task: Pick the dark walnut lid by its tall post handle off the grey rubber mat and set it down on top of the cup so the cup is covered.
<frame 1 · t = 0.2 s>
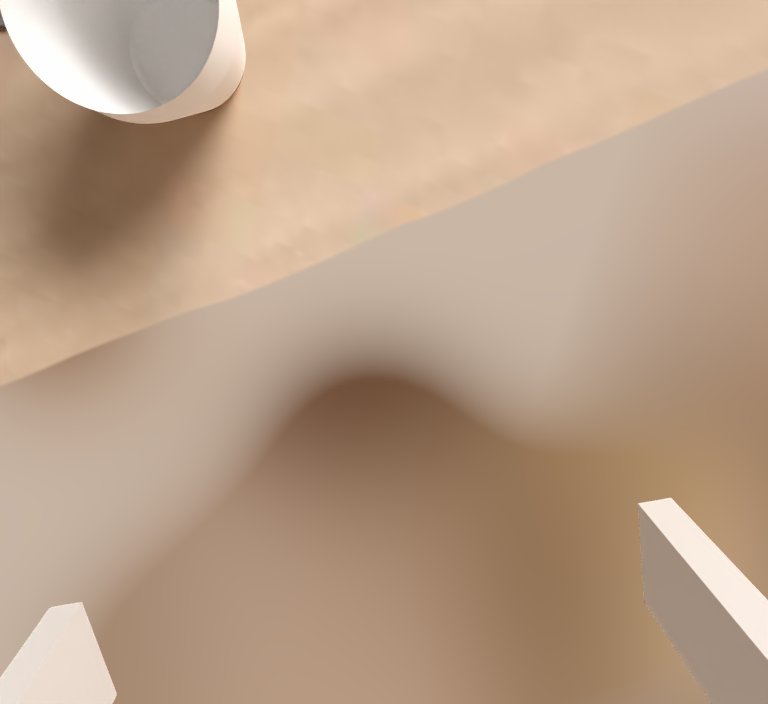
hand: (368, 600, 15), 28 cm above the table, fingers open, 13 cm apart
cup: (189, 53, 36), on the table
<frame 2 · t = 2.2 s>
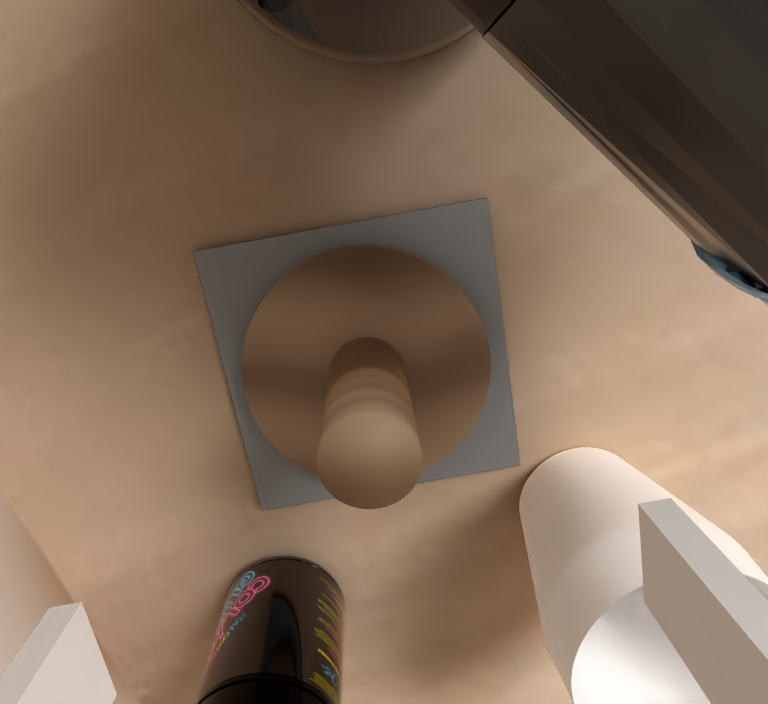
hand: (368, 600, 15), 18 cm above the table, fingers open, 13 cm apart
supplement container: (287, 597, 36), on the table
cup: (576, 498, 34), on the table
lid: (366, 365, 31), resting on mat
mat: (366, 362, 31), on the table
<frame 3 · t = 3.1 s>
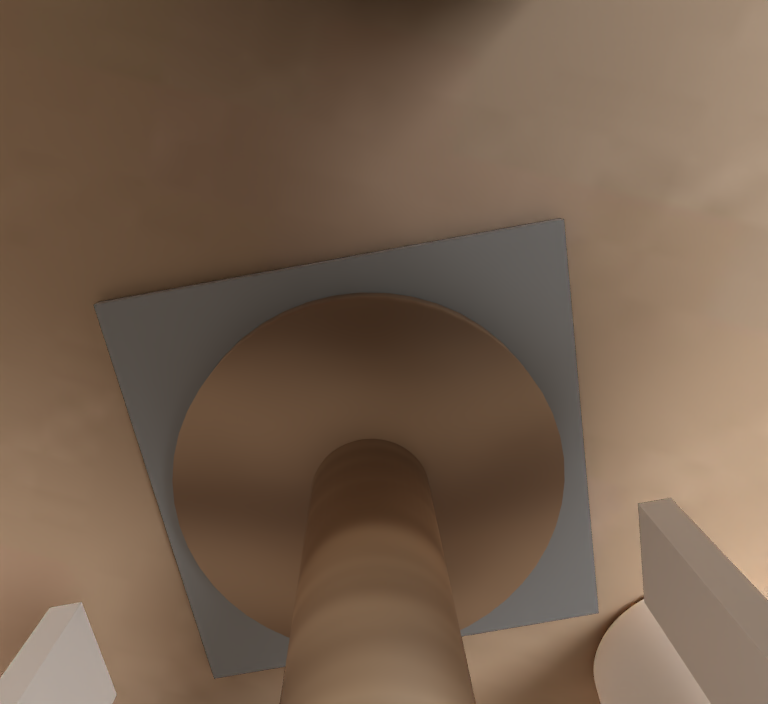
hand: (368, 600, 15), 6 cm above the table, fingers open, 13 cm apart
cup: (676, 652, 24), on the table
lid: (370, 473, 20), resting on mat
mat: (370, 467, 21), on the table
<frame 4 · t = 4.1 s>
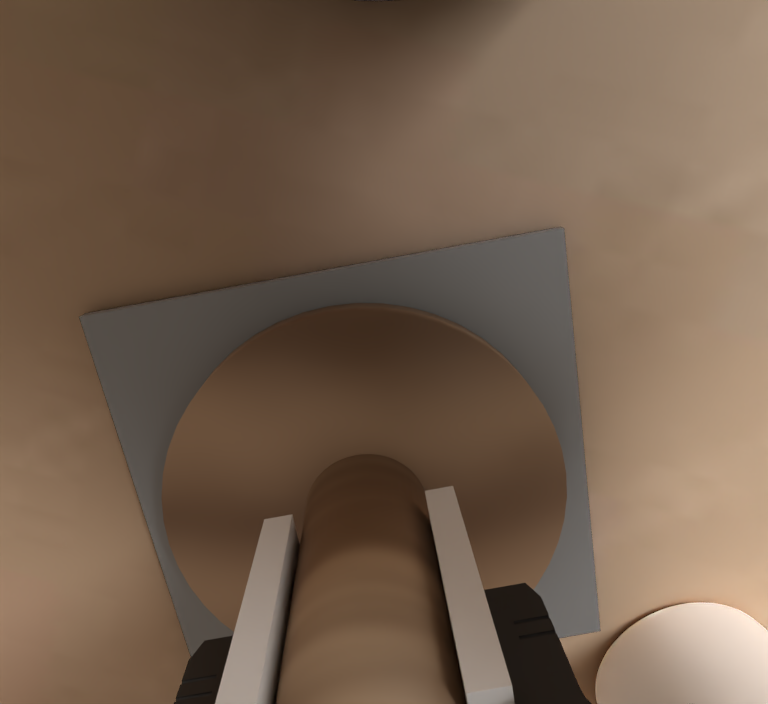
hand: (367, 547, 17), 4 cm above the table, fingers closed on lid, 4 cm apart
cup: (680, 670, 23), on the table
lid: (366, 489, 20), resting on mat, touching gripper
mat: (365, 483, 20), on the table
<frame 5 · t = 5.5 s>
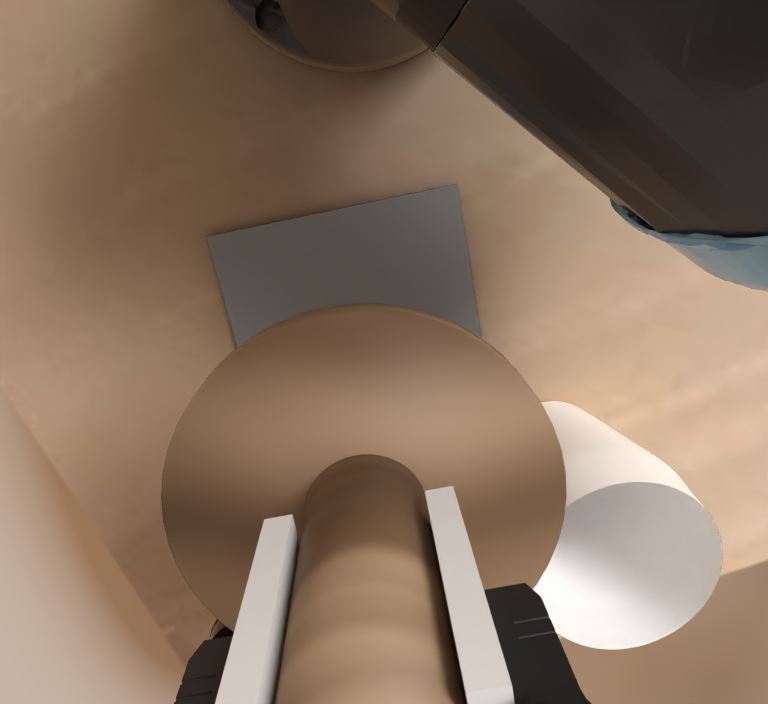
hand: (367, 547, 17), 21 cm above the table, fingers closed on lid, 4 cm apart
cup: (546, 448, 39), on the table
lid: (366, 489, 20), point 17 cm above the table, touching gripper
mat: (357, 330, 36), on the table
when the fingers open (16 cm above the table, at t = 7.2 s): lid stays where it is, resting on cup.
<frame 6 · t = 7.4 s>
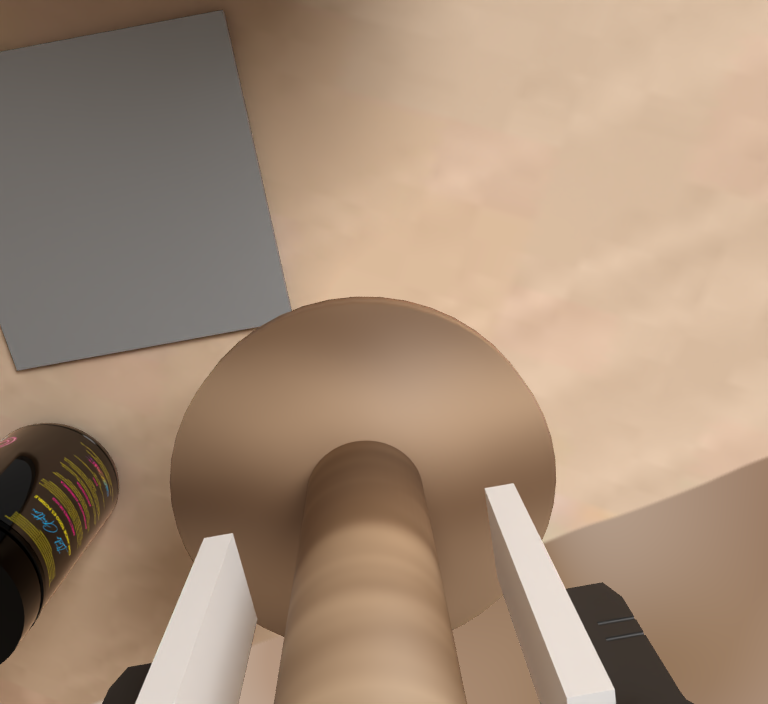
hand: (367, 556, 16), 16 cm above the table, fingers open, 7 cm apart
supplement container: (61, 473, 33), on the table
lid: (365, 475, 20), point 12 cm above the table, touching cup
mat: (115, 202, 29), on the table
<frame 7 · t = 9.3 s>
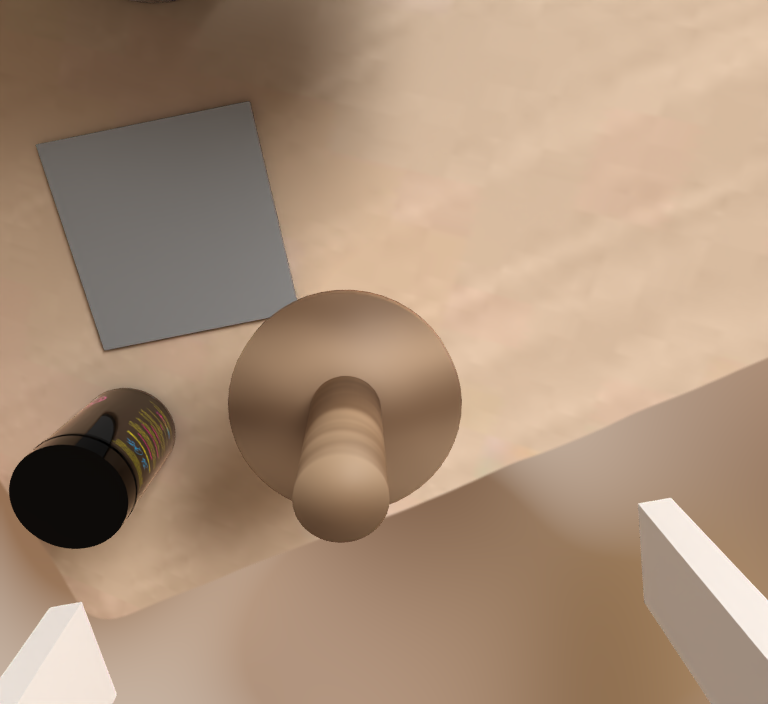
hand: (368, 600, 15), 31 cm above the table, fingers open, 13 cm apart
supplement container: (133, 426, 46), on the table
lid: (346, 400, 33), point 12 cm above the table, touching cup
mat: (174, 231, 42), on the table
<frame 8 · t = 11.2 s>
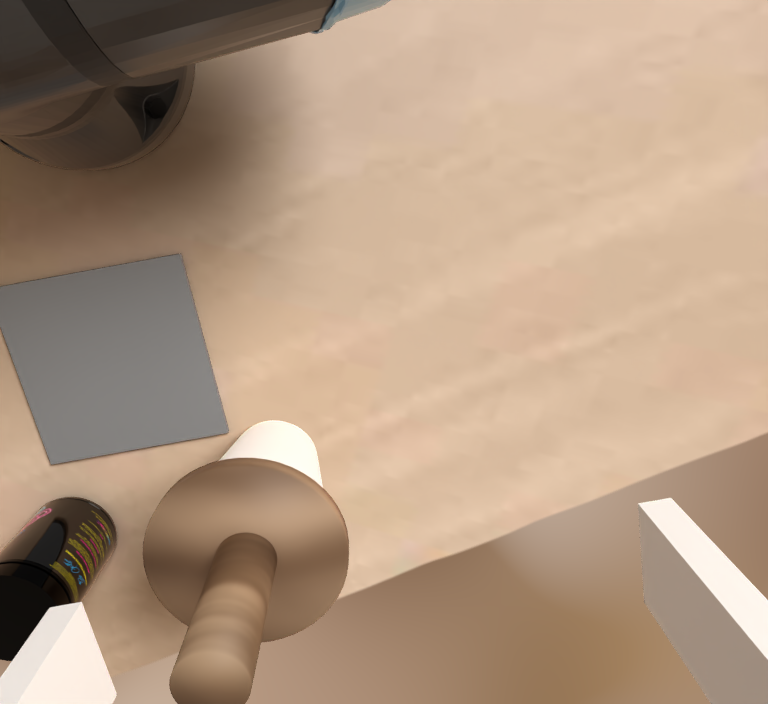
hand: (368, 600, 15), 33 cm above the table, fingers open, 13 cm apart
supplement container: (79, 528, 50), on the table
cup: (276, 457, 49), on the table, touching lid
lid: (250, 547, 38), point 12 cm above the table, touching cup
mat: (114, 362, 46), on the table
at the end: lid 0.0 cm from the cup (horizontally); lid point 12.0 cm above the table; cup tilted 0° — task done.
